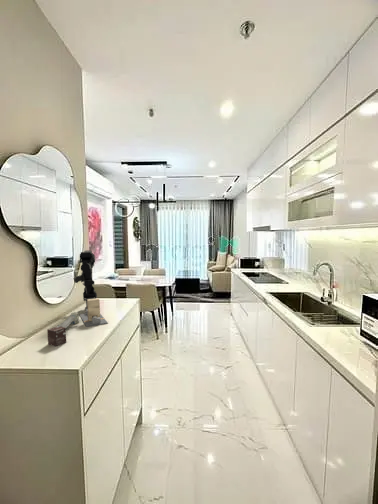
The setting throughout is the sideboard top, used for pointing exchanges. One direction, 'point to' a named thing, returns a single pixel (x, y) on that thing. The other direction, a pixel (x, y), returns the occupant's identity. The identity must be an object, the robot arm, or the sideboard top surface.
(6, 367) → the sideboard top surface
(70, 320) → the grey flashlight
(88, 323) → the grey board
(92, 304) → the notched wooden block
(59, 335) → the box
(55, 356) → the sideboard top surface
